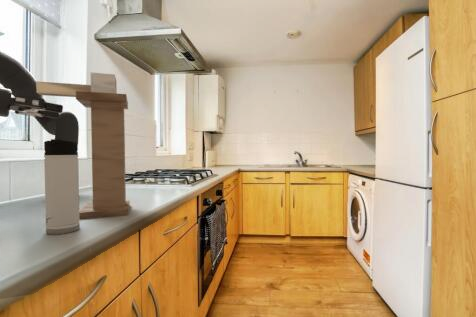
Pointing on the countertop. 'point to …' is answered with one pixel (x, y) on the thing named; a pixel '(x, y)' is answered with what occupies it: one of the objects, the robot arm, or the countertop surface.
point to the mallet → (79, 86)
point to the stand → (106, 154)
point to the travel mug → (61, 186)
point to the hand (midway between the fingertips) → (60, 112)
